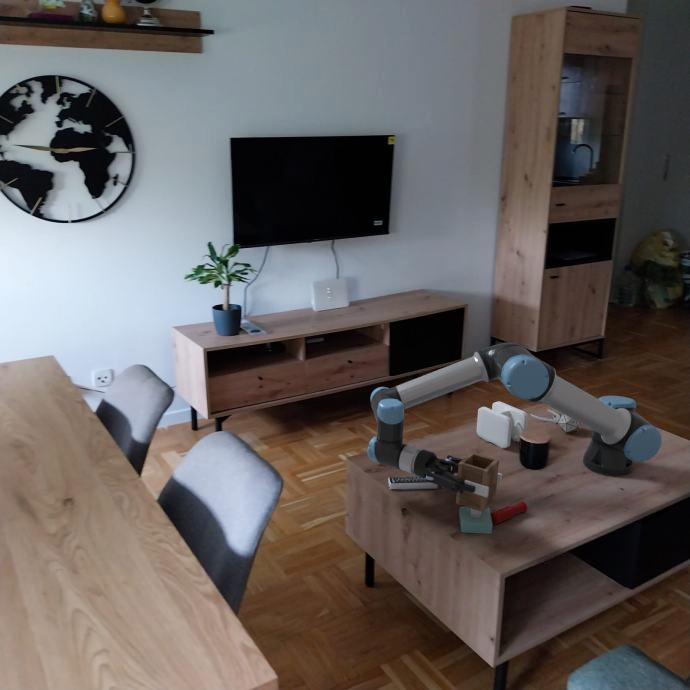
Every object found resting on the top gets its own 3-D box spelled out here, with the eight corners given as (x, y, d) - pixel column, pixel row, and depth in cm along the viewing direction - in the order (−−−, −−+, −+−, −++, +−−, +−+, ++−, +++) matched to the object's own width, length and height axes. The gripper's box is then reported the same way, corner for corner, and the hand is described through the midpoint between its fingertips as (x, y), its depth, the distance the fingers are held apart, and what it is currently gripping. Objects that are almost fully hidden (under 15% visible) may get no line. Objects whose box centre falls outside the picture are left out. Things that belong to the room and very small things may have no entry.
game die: (572, 442, 252) (588, 428, 245) (550, 434, 252) (566, 420, 244) (572, 422, 258) (587, 408, 251) (551, 414, 257) (565, 400, 250)
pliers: (548, 406, 271) (579, 420, 259) (548, 410, 271) (579, 424, 259) (530, 412, 266) (560, 426, 254) (529, 415, 266) (560, 430, 254)
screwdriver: (559, 502, 206) (560, 491, 205) (496, 527, 193) (497, 515, 192) (549, 496, 209) (550, 486, 208) (487, 521, 196) (488, 510, 195)
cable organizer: (473, 436, 248) (476, 405, 245) (494, 428, 254) (497, 398, 251) (506, 451, 237) (509, 419, 233) (527, 443, 243) (530, 412, 239)
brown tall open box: (468, 491, 197) (471, 452, 193) (495, 499, 193) (499, 460, 189) (455, 503, 191) (458, 463, 187) (483, 512, 186) (486, 471, 183)
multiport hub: (437, 489, 213) (438, 482, 212) (389, 490, 212) (390, 483, 211) (434, 482, 217) (435, 475, 217) (387, 483, 216) (388, 476, 215)
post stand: (488, 517, 197) (490, 489, 195) (491, 533, 190) (494, 504, 187) (459, 516, 198) (461, 487, 195) (461, 532, 190) (463, 502, 188)
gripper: (435, 460, 209) (508, 482, 197) (399, 488, 192) (477, 515, 180) (436, 437, 206) (510, 458, 194) (400, 463, 190) (479, 488, 178)
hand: (494, 485), depth 187 cm, fingers closed on brown tall open box, 8 cm apart
